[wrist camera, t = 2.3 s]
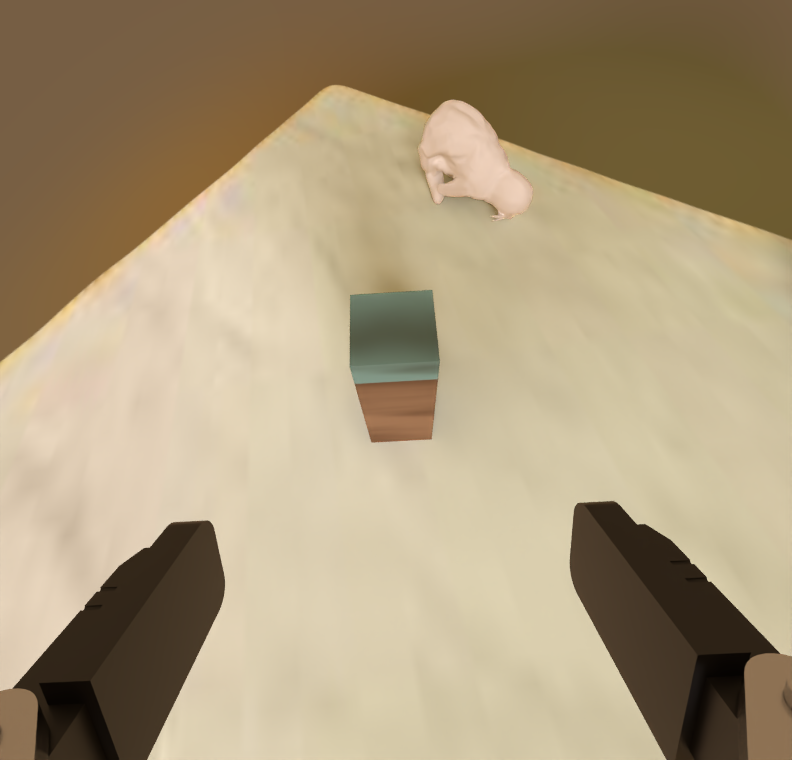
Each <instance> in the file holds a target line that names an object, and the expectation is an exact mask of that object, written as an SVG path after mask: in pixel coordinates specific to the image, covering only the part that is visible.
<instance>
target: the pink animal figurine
mask: <svg viewBox="0 0 792 760" xmlns="http://www.w3.org/2000/svg"><path fill="white" fill-rule="evenodd" d="M418 153H419V156H420V162H421V167H422V169H423V170H424V171H425V172H426V178H427V183H428V185H429V187H430V191H431V195H432V199H433V201H434V202H435V203H436V204H440V203H441V202H442V200H443V199H444V196H449V197H464V196H468V197H470V198H472V199H477V200H484V201H486V202H488V203H490V204H492V205H493V206H494V207H495V208H496V209H497V210H498V213H499V214H498V215H500V216H498V215H493V216H490V217H493V218H494V217H495V218H498V219H495V220H493V221H496V220H500V219H504V218H508V219H511V218H513V217H514V216H516V215H518V214H521V213H523V212H525V211H526V210H527V209H528V207H529V205H530V203H531V201H532V197H533V188H532V185H531V184H530V182H529V181H528V180H527V179H526V178H525V177H524V176H523V175H522V174H521V173H519V172H518V171H516V170H514V169H511V168H510V164H509V162H508V157H507V154H506V152H505V151H504V149H503V148H502V147H501V145H500V144H499V141H498V137H497V135H496V132H495V131H494V130H493V128H492V127H491V125H490V124H489V122H487V121H486V120H485V118H484V117H483V115H482V114H481V113H480V112H479V111H478V110H476V109H475V108H473V107H472V106H470V105H469V104H467V103H465V102H462V101H457V100H448V101H445V102H443V103H442V104H441V105H440V106H439V107H438V108H437V109H436V110H435V111H434V112H433V113H432V114H431V115H430V117H429V118H428V120H427V122H426V124H425V126H424V131H423V135H422V141H421V143H420V144H419V146H418ZM443 173H444V174H445V175H447V176H449V177H451V178H453V179H454V180H452V181H450V182H448V183H444V177H443Z"/></svg>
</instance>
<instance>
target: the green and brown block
mask: <svg viewBox="0 0 792 760" xmlns="http://www.w3.org/2000/svg"><path fill="white" fill-rule="evenodd" d="M439 364H440V359H439V349H438V340H437V331H436V321H435V312H434V303H433V293H432V290H424V291H408V292H392V293H375V294H359V295H350V369H351V372H352V376H353V379H354V383H355V386H356V390H357V393H358V397H359V400H360V404H361V407H362V411H363V414H364V418H365V421H366V425H367V428H368V432H369V435H370V439H371V442H389V441H407V440H425V439H431V438H432V429H433V420H434V410H435V401H436V392H437V382H438V373H439Z"/></svg>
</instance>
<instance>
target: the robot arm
mask: <svg viewBox="0 0 792 760" xmlns="http://www.w3.org/2000/svg"><path fill="white" fill-rule="evenodd" d="M570 572H571V577H572V581H573V584H574V587H575V590H576V592H577V594H578V596H579V598H580V600H581V602H582V603H583V605H584V607H585V609H586V611H587V613H588V615H589V616H590V618H591V620H592V622H593V624H594V626H595V628H596V629H597V631H598V633H599V635H600V637H601V639H602V641H603V642H604V644H605V646H606V648H607V650H608V652H609V654H610V655H611V657H612V659H613V661H614V663H615V665H616V667H617V668H618V670H619V672H620V674H621V676H622V678H623V680H624V681H625V683H626V685H627V687H628V689H629V691H630V693H631V694H632V696H633V698H634V700H635V702H636V704H637V706H638V707H639V709H640V711H641V713H642V715H643V717H644V719H645V720H646V722H647V724H648V726H649V728H650V730H651V732H652V733H653V735H654V737H655V739H656V741H657V743H658V745H659V746H660V748H661V750H662V752H663V754H664V756H665V758H666V759H667V760H792V657H791V656H787V655H783V654H780V653H779V652H778V651H777V650H776V649H775V648H774V647H773V646H772V645H771V644H770V642H769V641H768V640H767V639H766V638H765V637H764V636H763V635H762V634H761V633H760V632H759V631H758V630H757V629H756V628H755V627H754V626H753V625H752V624H751V623H750V622H749V621H748V620H747V619H746V618H745V617H744V615H743V614H742V613H741V612H740V611H739V610H738V609H737V608H736V607H735V606H734V605H733V604H732V603H731V602H730V601H729V600H728V599H727V598H726V597H725V596H724V595H723V594H722V593H721V592H720V591H719V590H718V589H717V587H716V586H715V585H714V584H713V583H712V582H708V581H707V577H706V576H705V575H704V574H703V573H702V572H701V571H700V570H699V569H698V568H697V567H696V566H695V565H694V564H691V563H690V559H689V558H688V557H687V556H686V555H685V554H684V553H683V552H682V551H681V550H680V549H679V548H678V547H677V546H676V545H675V544H674V543H673V542H672V541H671V540H670V539H668V538H667V537H665V536H663V535H662V534H660V533H659V532H657V531H655V530H654V529H652V528H650V527H649V526H647V525H646V524H639V525H637V524H636V523H635V522H634V521H633V520H632V519H631V517H630V516H629V515H628V514H627V513H626V512H625V511H624V510H623V508H622V507H621V506H620V505H619V504H618V503H616V502H614V501H607V502H587V503H578V504H577V505H576V506H575V509H574V516H573V528H572V540H571V552H570ZM224 591H225V577H224V572H223V567H222V563H221V558H220V554H219V549H218V544H217V540H216V535H215V531H214V527H213V525H212V523H211V522H210V521H190V522H173V523H171V524H170V525H168V526H167V528H166V529H165V530H164V531H163V532H162V534H161V535H160V536H159V537H158V538H157V540H156V541H155V542H154V543H153V545H152V546H151V547H150V548H144V549H142V550H141V551H139V552H138V553H137V554H135V555H134V556H133V557H131V558H130V559H128V560H127V561H126V562H124V563H123V564H122V565H120V566H119V567H118V568H117V569H116V570H115V572H114V573H113V574H112V575H111V576H110V577H109V578H108V580H107V581H106V582H105V583H104V584H103V585H102V587H101V590H100V592H96V593H95V595H94V596H93V597H92V598H91V599H90V600H89V601H88V603H87V604H86V605H85V609H84V610H83V611H80V612H79V613H78V614H77V615H76V616H75V618H74V619H73V620H72V621H71V622H70V623H69V624H68V626H67V627H66V628H65V629H64V630H63V631H62V632H61V634H60V635H59V636H58V637H57V638H56V639H55V640H54V642H53V643H52V644H51V645H50V646H49V647H48V648H47V650H46V651H45V652H44V653H43V654H42V655H41V657H40V658H39V659H38V660H37V661H36V662H35V663H34V665H33V666H32V667H31V668H30V669H29V670H28V671H27V673H26V674H25V675H24V676H23V677H22V678H21V679H20V681H19V682H18V683H17V684H16V685H15V686H14V687H13V689H8V690H3V691H0V760H147V759H148V756H149V754H150V752H151V750H152V748H153V746H154V744H155V742H156V740H157V738H158V736H159V734H160V732H161V730H162V728H163V726H164V723H165V721H166V719H167V717H168V715H169V713H170V711H171V709H172V707H173V705H174V703H175V701H176V699H177V697H178V695H179V692H180V690H181V688H182V686H183V684H184V682H185V680H186V678H187V676H188V674H189V672H190V670H191V668H192V666H193V664H194V662H195V659H196V657H197V655H198V653H199V651H200V649H201V647H202V645H203V643H204V641H205V639H206V637H207V635H208V633H209V631H210V629H211V626H212V624H213V622H214V620H215V618H216V616H217V614H218V612H219V610H220V608H221V605H222V602H223V597H224Z"/></svg>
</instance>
